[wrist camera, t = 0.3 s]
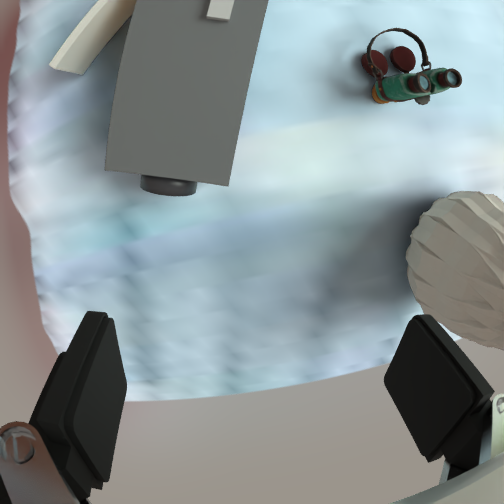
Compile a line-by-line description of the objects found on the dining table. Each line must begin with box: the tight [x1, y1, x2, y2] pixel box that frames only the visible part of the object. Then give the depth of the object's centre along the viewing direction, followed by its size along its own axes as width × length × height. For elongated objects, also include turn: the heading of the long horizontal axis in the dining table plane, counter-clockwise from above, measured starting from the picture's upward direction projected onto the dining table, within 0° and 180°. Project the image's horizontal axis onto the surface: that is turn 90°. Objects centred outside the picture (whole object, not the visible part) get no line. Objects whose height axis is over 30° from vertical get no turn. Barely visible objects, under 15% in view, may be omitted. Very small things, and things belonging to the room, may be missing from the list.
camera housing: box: [105, 0, 268, 196], centre depth 27 cm, size 24×12×9 cm, turn 169°
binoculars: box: [361, 28, 462, 105], centre depth 28 cm, size 9×11×10 cm
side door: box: [49, 0, 137, 75], centre depth 23 cm, size 14×2×7 cm, turn 139°
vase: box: [406, 191, 504, 350], centre depth 30 cm, size 20×20×30 cm
